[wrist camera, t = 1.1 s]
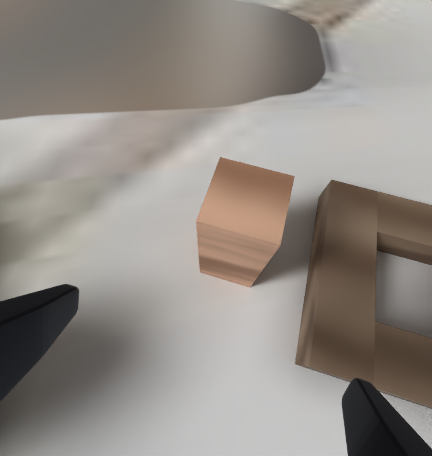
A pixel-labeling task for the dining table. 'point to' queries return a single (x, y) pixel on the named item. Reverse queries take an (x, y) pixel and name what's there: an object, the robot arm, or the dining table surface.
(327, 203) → the walnut hole board
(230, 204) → the terracotta peg
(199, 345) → the dining table surface
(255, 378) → the dining table surface
